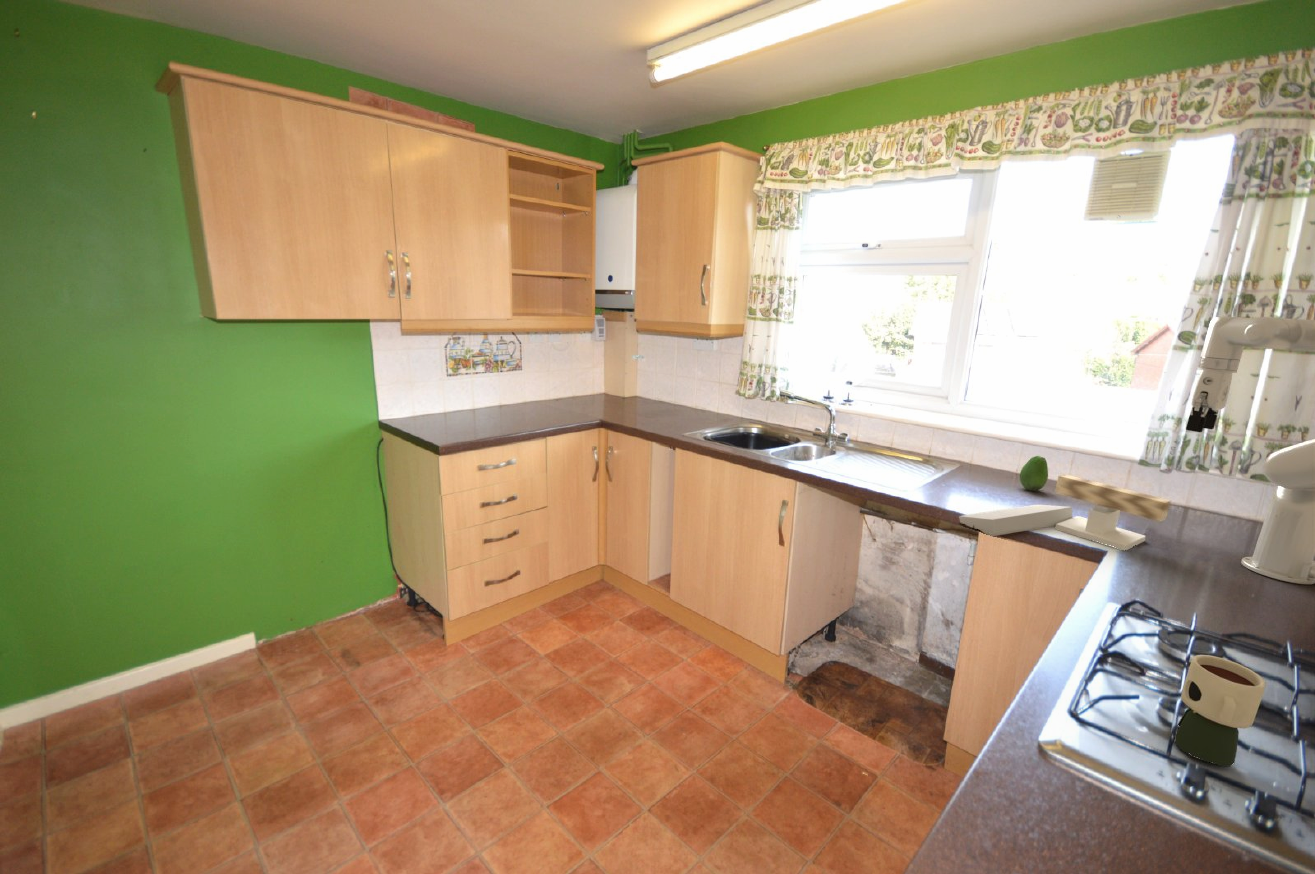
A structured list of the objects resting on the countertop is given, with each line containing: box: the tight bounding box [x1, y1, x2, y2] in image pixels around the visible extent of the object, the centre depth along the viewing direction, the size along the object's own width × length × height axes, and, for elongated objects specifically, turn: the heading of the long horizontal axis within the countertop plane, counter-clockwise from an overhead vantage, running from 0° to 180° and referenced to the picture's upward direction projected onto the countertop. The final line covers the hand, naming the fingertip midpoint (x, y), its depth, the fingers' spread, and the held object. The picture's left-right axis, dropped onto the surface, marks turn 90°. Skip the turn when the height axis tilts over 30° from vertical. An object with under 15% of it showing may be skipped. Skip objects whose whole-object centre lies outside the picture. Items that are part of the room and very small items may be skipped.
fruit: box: [1019, 455, 1049, 492], centre depth 193 cm, size 8×8×12 cm
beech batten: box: [1054, 473, 1172, 522], centre depth 154 cm, size 24×4×5 cm, turn 34°
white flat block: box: [958, 504, 1073, 537], centre depth 163 cm, size 34×5×10 cm
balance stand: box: [1054, 504, 1147, 552], centre depth 156 cm, size 16×14×9 cm
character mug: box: [1174, 654, 1267, 767], centre depth 77 cm, size 11×7×13 cm, turn 143°
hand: (1199, 429), depth 152 cm, fingers open, 9 cm apart
